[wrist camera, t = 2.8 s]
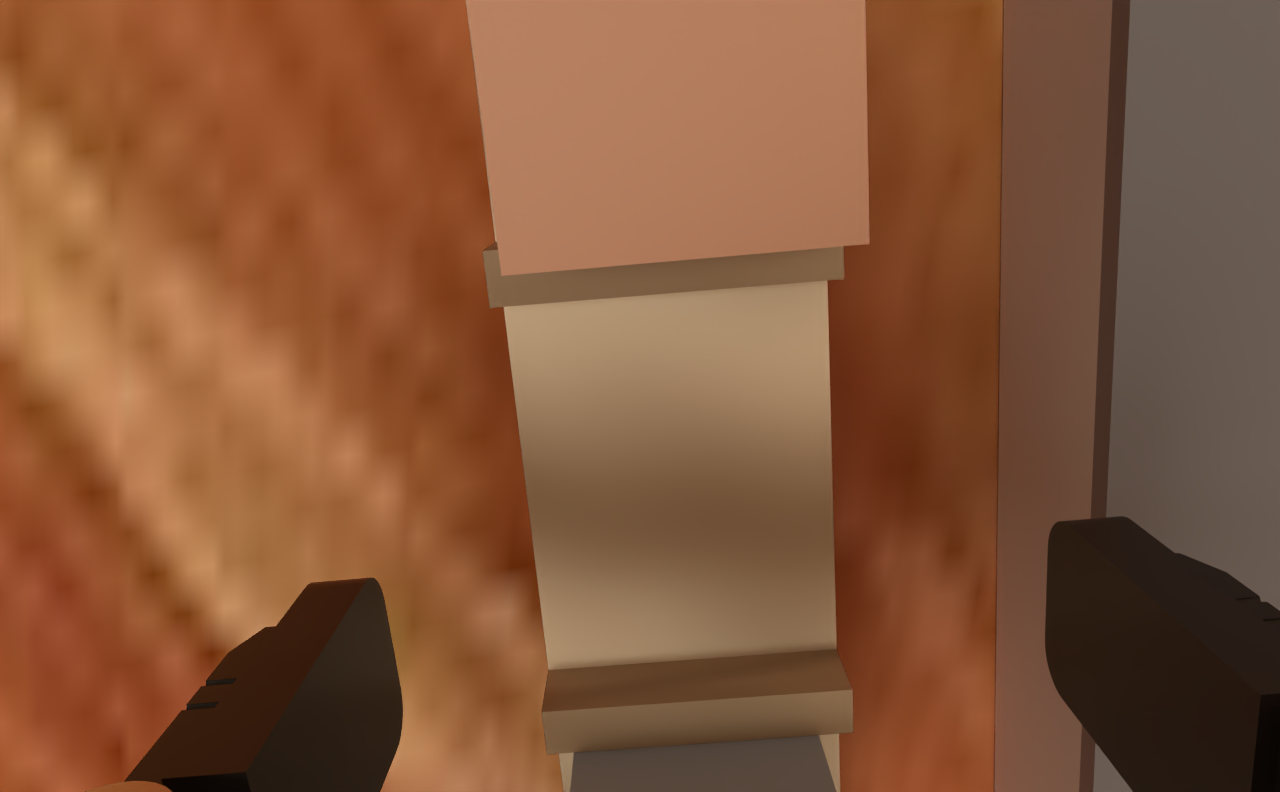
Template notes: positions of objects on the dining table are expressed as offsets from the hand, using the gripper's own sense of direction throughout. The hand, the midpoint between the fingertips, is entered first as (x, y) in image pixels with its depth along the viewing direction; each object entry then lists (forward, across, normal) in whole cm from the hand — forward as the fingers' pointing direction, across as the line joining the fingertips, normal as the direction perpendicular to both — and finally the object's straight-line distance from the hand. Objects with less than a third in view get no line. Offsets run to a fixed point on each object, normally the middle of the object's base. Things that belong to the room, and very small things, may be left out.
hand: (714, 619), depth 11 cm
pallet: (+9, 0, 0) cm, 9 cm away
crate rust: (+4, 0, -6) cm, 8 cm away
